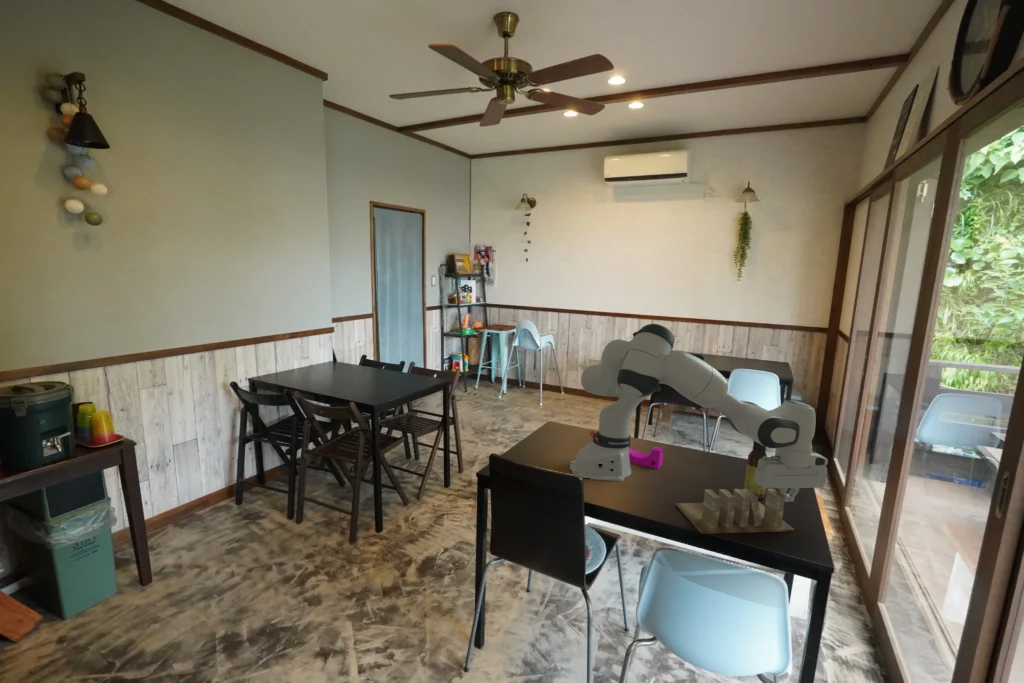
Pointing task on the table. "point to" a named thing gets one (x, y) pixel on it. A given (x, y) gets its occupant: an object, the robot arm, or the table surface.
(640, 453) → the toy block
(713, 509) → the domino
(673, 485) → the table surface
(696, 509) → the board
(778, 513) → the domino
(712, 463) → the table surface
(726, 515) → the domino
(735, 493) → the domino
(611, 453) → the robot arm
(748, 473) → the sauce bottle
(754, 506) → the domino
